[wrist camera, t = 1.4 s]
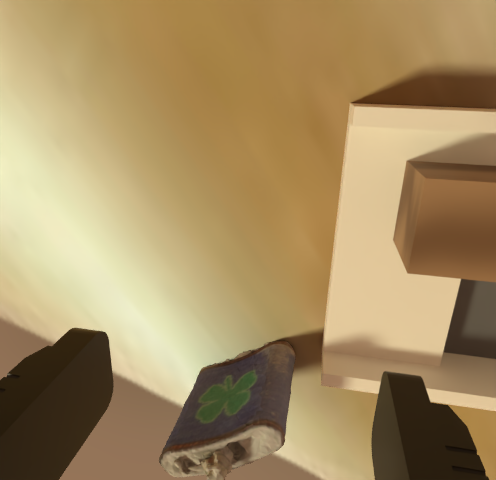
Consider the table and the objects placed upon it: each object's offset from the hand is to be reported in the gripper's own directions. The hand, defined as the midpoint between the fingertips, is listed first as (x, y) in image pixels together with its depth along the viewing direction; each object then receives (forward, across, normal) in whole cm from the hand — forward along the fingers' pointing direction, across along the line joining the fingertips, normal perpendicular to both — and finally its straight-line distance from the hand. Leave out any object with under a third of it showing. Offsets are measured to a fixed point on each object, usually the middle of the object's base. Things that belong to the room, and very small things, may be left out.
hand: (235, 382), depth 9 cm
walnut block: (+18, -9, 0) cm, 20 cm away
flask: (+20, +3, +15) cm, 25 cm away
